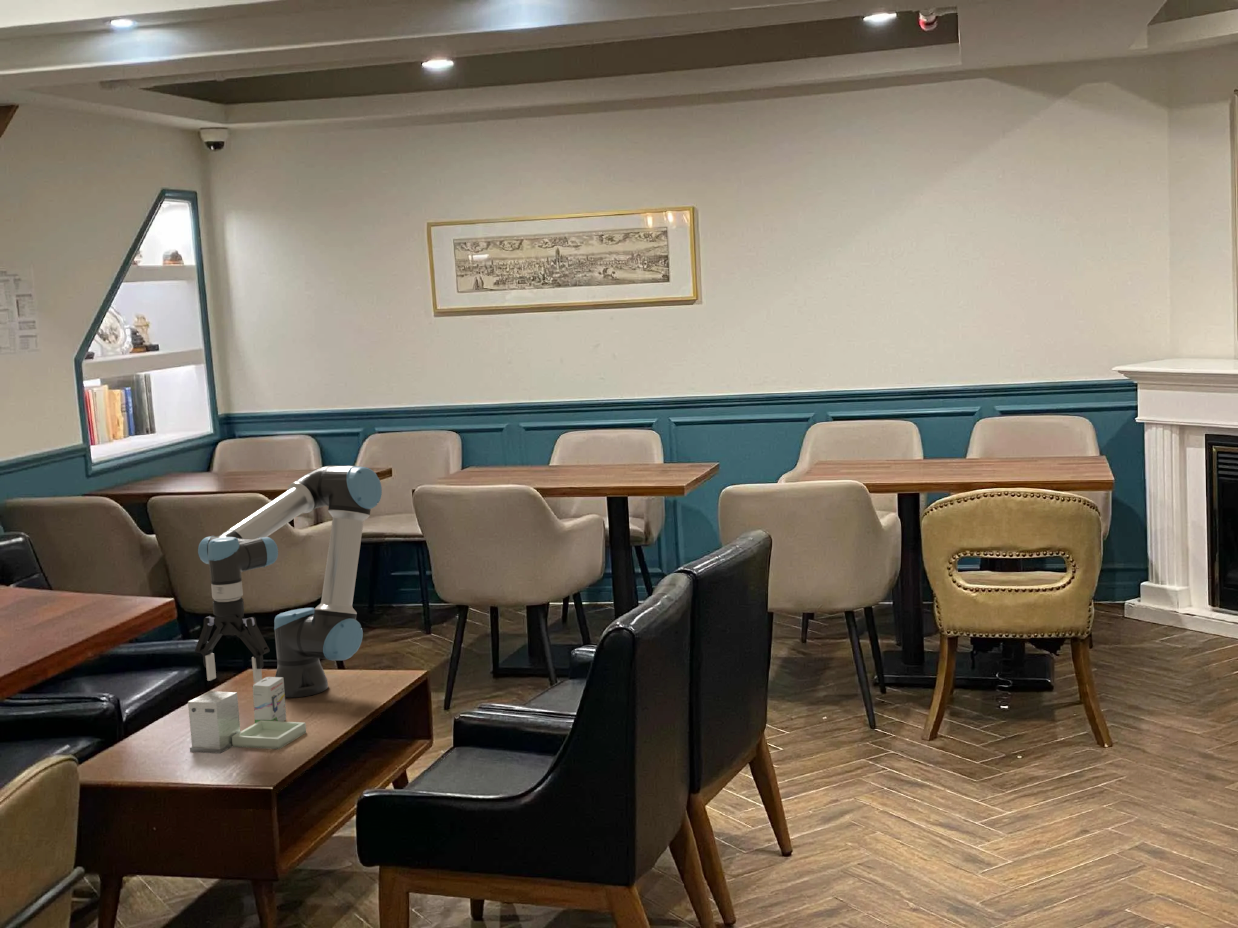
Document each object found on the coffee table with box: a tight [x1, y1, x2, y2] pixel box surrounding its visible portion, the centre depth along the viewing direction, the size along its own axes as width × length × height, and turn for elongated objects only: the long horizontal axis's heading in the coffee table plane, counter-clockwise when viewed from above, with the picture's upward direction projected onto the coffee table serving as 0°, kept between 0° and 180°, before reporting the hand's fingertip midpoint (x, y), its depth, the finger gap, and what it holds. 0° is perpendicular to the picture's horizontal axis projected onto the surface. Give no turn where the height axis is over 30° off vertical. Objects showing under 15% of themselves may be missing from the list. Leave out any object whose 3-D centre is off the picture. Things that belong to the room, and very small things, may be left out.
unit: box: [187, 690, 241, 754], centre depth 326 cm, size 10×9×12 cm
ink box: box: [252, 676, 287, 724], centre depth 342 cm, size 9×5×12 cm, turn 168°
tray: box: [232, 720, 307, 750], centre depth 330 cm, size 13×13×3 cm
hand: (234, 680), depth 336 cm, fingers open, 13 cm apart
